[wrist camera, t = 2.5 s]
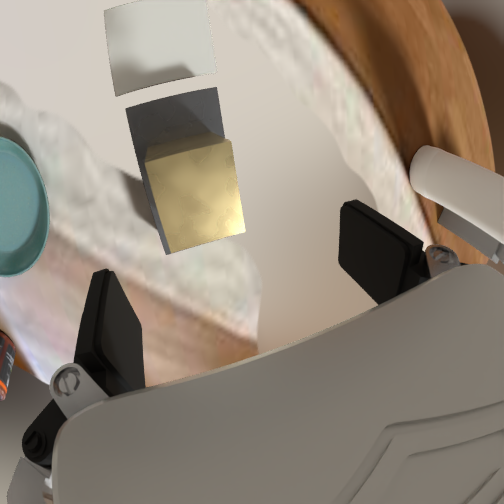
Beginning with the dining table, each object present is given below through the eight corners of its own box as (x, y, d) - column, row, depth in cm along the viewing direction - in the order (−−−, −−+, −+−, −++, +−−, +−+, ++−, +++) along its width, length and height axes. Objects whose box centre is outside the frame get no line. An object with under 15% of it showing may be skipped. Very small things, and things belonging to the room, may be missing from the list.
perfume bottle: (462, 201, 43) (528, 244, 28) (449, 230, 45) (513, 277, 31) (451, 191, 40) (526, 236, 25) (437, 222, 42) (509, 273, 28)
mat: (104, 12, 13) (103, 10, 13) (203, -8, 15) (205, -11, 15) (116, 96, 18) (115, 96, 18) (215, 73, 20) (217, 72, 20)
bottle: (402, 188, 35) (571, 309, 11) (415, 138, 31) (601, 239, 7) (429, 195, 38) (571, 296, 13) (441, 151, 34) (594, 240, 10)
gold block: (147, 147, 18) (144, 163, 14) (211, 131, 20) (231, 141, 15) (165, 216, 22) (171, 253, 17) (223, 200, 23) (245, 231, 18)
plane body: (130, 108, 20) (125, 108, 16) (207, 89, 21) (216, 87, 18) (163, 235, 27) (166, 255, 24) (229, 216, 28) (240, 233, 25)
